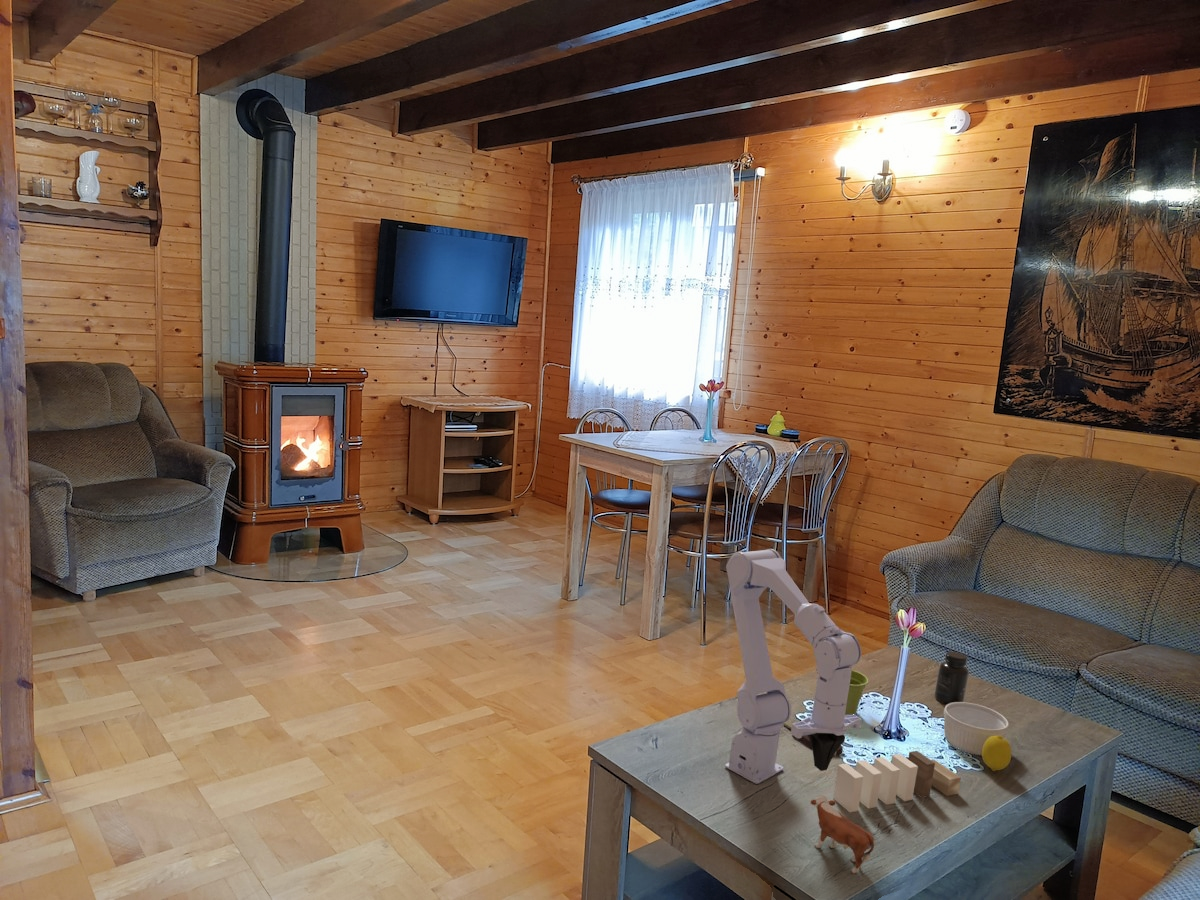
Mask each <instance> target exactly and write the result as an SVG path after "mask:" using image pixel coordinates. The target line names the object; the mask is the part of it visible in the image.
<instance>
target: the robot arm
mask: <svg viewBox="0 0 1200 900" xmlns="http://www.w3.org/2000/svg"><path fill="white" fill-rule="evenodd" d="M786 567H787V565H786V560H784V559H783V558H782V557H781V555H780V553H779V552H778V551H777V550H775V549H773V548H766V549H763V550H762V549H760V550H755V551H754V550H752V551H737V552H734V553H732V554H731V556H730V558H729V559H728V562H727V563H726V565H725V568H726V573H727V574H726V575H727V578H728V579H727V581H728V584H729V590H730V598H731V602H732V603H731V605H732V609H733V614H734V621H735V626H736V630H737V637H738V641H739V642H738V643H739V648H740V654H741V659H742V665H743V669H744V678H745V681H744V682H743V683H742V684H741V686H740V687H739V688H738V690H737V692H736V695H737V705H736V713H737V718H738V720H739V722H740V725H741V726H742V728H741V730H740V731H739V732H738V733H737V734H736V735H735V736H733V738H732V741H731V747H730V754H729V762H727V763H725V765H724V767H725V768H726V769H728V770H730V771H732V772H734V773H735V774H737V775H739V776H741V777H743V778H744V779H746V780H748V781H750V782H752V783H754V784H756V785H758V784H761V783H762V782H764V781H766V780H767V779H770V778H771V777H773V776H775V775H776V774H778V773H780V772H782V771H784V766H783V765H781V764H779V763H777V755H778V749H779V747H778V746H779V740H780V733H781V730H782V729H783V728H784V722H787V721H789V720H790V719H791V716H792V704H791V702H790V699H789V697H788V695H787V694H786V689H785V685H784V684H783V683H782V682H781V681H780V680H779V679H776V678H775V676H774V675H773V670H772V669H773V668H772V664H771V659H770V653H769V649H768V648H769V647H768V642H767V636H766V631H765V627H764V626H765V625H764V621H763V615H762V609H761V605H760V597H761V596H762V594H763V592H764V591H765V590H767V588H768V589H770V590H771V591H772V592H773V593H774V594H775V595H776V596H777V597H778V598H779V599H780V600H781V602H783V604H785V606H786V607H788V609H790V611H791V612H792V613H793V614H794V617H793V619H794V621H793V622H794V625H795V626H796V627H797V629H798V630H799V631H800V632H801V633H802V634H803V636H804V637H805V639H807V641H808V642H809V643H810V645H811V646H812V647H813V655H814V659H815V662H816V673H817V679H816V686H815V692H814V699H813V703H812V704H813V705H812V711H811V715H810V716H808V717H805V718H804V719H802V720H800V721H799V722H794V723H792V728H791V729H790V734H791V735H793V736H795V737H796V738H797V739H798V738H802V736H804V735H808V737H809V739H810V742H811V746H812V748H811V750H812V756H813V762H814V763H813V764H814V767H815V768H817V769H818V770H819V771H820V772H822V771H823V772H824V771H827V770H828V768H829V766H830V764H831V761H832V760H833V758H834V756H835V755H834V754H835V752H836V751H837V749H838V748H839V747H840V745H841V746H842V745H843V744H844V742H845V739H846V736H845V734H846V730H847V729H848V730H849V729H855V730H861V727H862V718H861V717H859V716H858V715H856V714H854V715H845V712H846V705H847V698H848V692H849V685H850V679H851V672H852V670H853V666H855V665H857V664H858V663H859V662H860V661H861V658H862V648H861V645H860V642H859V641H858V639H857V638H856V636H855V635H854V634H853V633H850V632H846V631H844V630H843V629H841V628H840V627H839V626H837V625H836V624H835V622H834V621H833V620H832V619H831V618H830V617H829V615H828V614H827V613H826V612H825V611H826V609H825V608H824V607H823V606H822V605H819V604H817V603H810V602H809V601H808V599H807V598H806V597H805V594H804V593H803V592H802V590H800V588H799V586H798V585H797V584H796V583H795V582H794V580H793V578H792V577H791V576H790V574H789V573H788V571H787V570H786ZM796 738H795V739H796ZM797 739H796V740H797Z"/></svg>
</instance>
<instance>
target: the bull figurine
mask: <svg viewBox="0 0 1200 900" xmlns="http://www.w3.org/2000/svg"><path fill="white" fill-rule="evenodd" d="M810 804H811V805H812V806H814V807H815V808H816V809H817V810H816V813H817V816H818V825H819V828H820V836H819V838H818V839H819V840H818V841H817V843H815V844H814V846H813V847H814V848H816V849H823V843H824V842H825V841H826V838H830V839H831V842H830V844H828V847H829V848H830V849H834V848H837V845H836V843H837V844H839V845H840V846H842V847H843V850H846V849H848V848H850V849H851V850H852V852H853V856H852V857H850V861H851V862H852V863H855V866H854V867H852V869H851V870H850V873H852V874H856V873H859V872H860V868H861V865H862V864H863V863H866V862H868V860H869V858H870V856H871V853H872V852H873V851H874V848H875V842H874V836H873V835H872V834H871V833H870V832H868V831H867V830H865V829H864V827H862V826H860V825H858V824H856V823H854V822H852V820H851V819H849V818H847V817H845V815H843V814H842V813H841V812H840V811H839V810H837V809H835V808H834V806H835V805H836V800H828V797H826V795H819V796H816V797H815V799H811V801H810ZM867 850H868V851H867Z"/></svg>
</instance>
